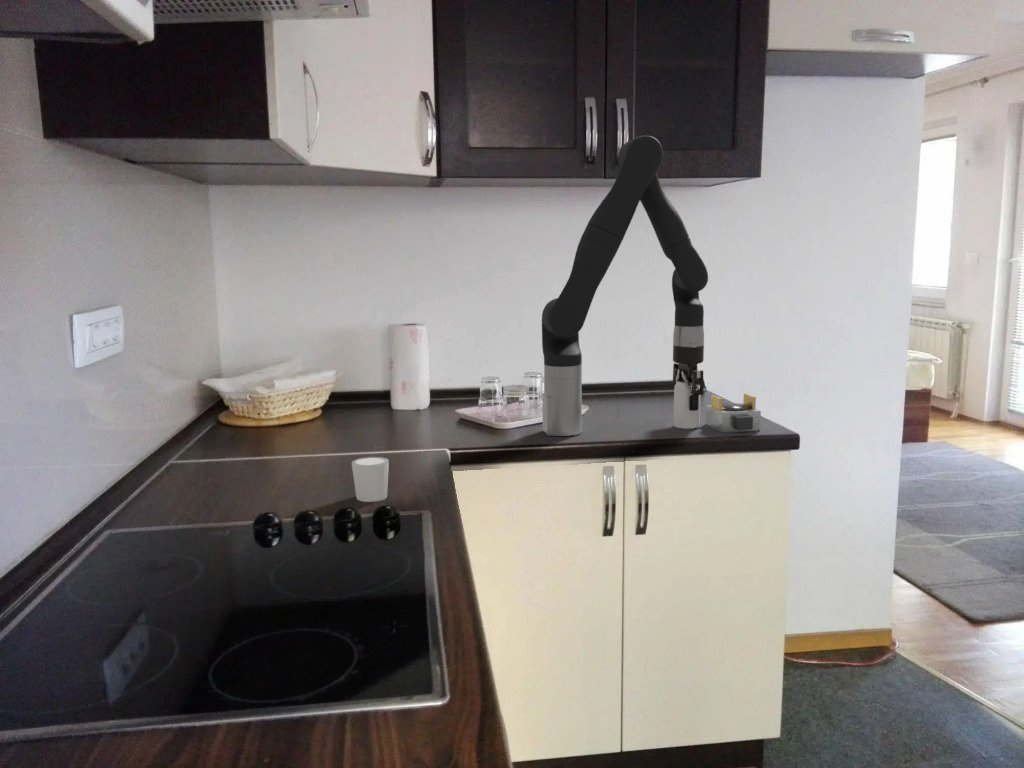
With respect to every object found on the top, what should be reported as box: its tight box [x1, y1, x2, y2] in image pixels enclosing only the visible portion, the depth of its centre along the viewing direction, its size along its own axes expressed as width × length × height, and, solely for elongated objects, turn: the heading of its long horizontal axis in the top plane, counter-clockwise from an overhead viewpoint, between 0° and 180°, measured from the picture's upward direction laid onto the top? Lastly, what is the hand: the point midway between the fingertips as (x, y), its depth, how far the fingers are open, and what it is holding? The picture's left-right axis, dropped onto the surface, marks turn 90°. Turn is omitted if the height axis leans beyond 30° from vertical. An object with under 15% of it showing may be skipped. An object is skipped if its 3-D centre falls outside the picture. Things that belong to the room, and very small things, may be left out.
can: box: [673, 379, 701, 430], centre depth 203 cm, size 6×6×12 cm
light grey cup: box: [351, 456, 390, 503], centre depth 150 cm, size 7×7×7 cm
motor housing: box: [705, 393, 762, 433], centre depth 201 cm, size 10×12×8 cm
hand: (687, 407), depth 203 cm, fingers open, 8 cm apart
